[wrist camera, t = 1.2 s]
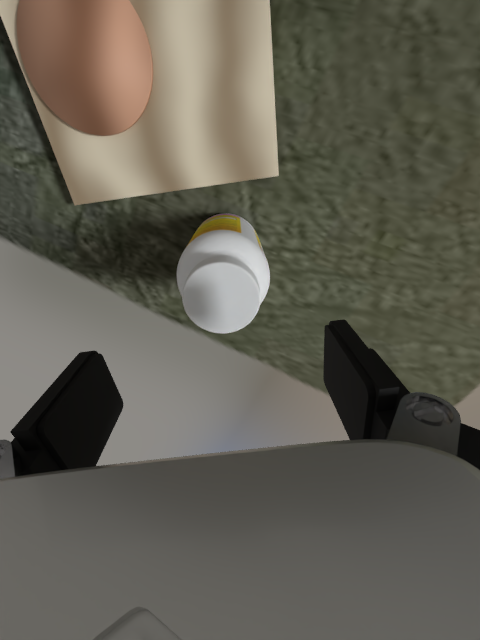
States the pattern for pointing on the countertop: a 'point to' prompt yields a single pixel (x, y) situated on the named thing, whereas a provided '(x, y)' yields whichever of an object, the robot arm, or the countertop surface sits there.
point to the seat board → (149, 91)
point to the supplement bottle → (223, 274)
